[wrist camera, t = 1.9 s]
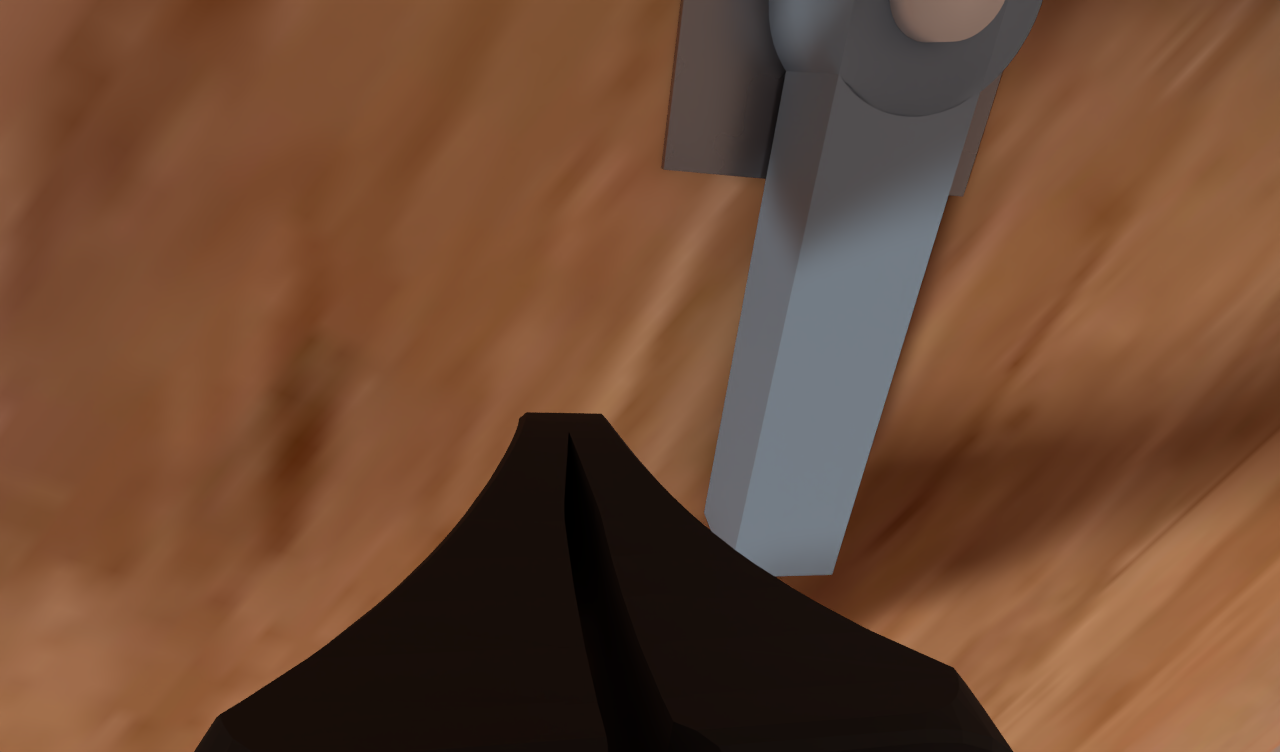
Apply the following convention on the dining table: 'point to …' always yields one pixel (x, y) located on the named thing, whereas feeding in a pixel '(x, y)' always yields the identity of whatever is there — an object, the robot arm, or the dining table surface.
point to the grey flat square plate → (745, 94)
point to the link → (843, 254)
